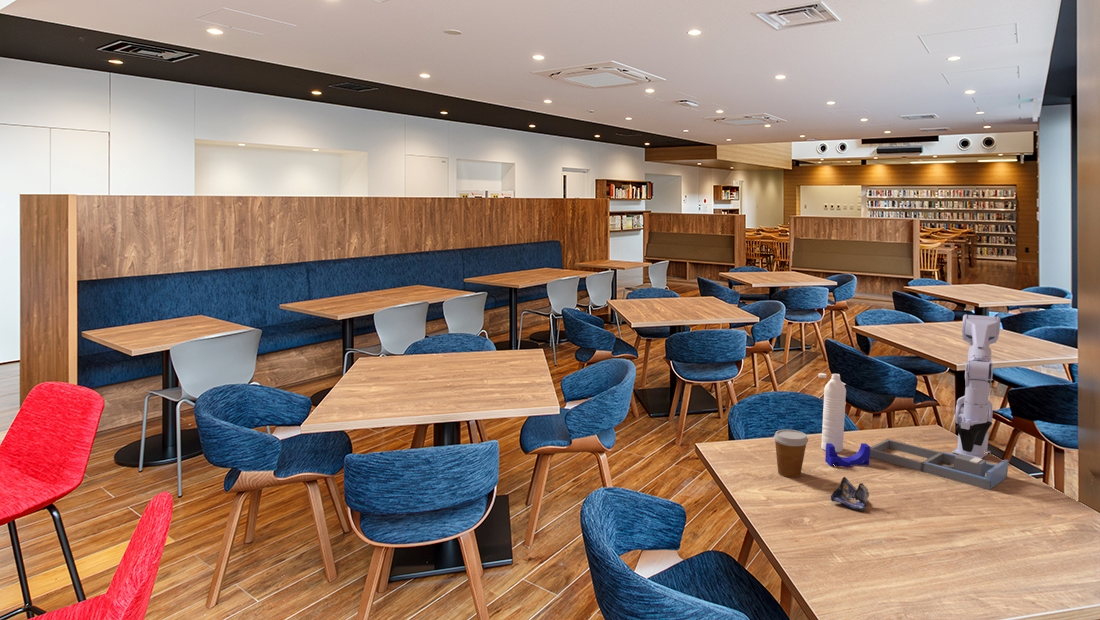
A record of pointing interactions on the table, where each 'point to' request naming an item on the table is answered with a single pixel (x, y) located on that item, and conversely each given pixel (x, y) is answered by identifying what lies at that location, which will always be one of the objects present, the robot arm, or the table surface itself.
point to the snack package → (851, 495)
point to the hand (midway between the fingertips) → (972, 448)
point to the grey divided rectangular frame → (930, 465)
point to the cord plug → (969, 465)
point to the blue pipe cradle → (856, 459)
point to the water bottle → (833, 412)
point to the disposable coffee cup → (790, 451)
